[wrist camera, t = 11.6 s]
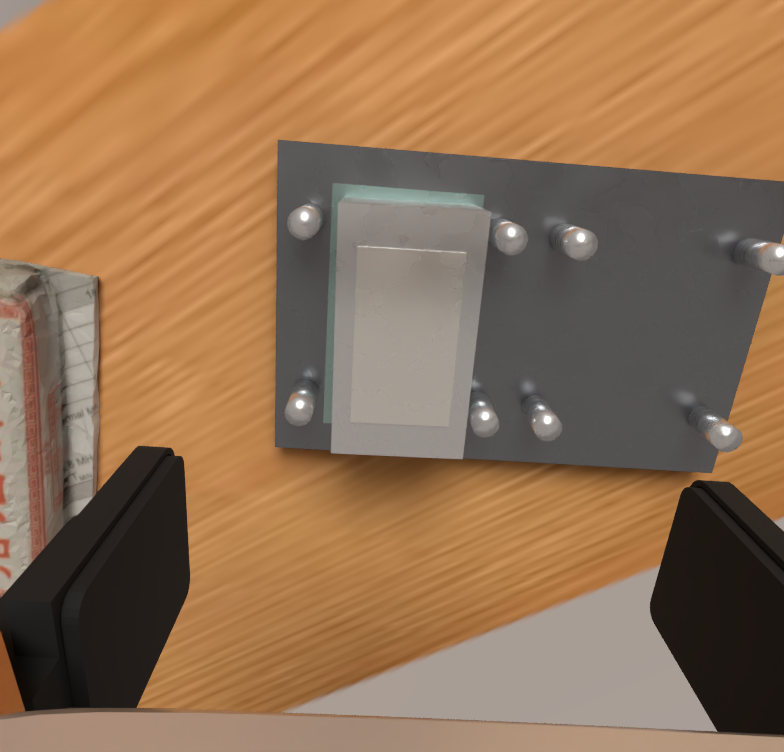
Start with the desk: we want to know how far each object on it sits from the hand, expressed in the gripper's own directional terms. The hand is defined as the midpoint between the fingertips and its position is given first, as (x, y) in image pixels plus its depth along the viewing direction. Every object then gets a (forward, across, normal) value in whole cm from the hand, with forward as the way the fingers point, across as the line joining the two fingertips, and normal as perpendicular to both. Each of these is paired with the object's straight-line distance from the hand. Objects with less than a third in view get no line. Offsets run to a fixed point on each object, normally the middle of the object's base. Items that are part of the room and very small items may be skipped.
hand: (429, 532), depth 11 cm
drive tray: (+18, -5, 0) cm, 19 cm away
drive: (+16, 0, 0) cm, 16 cm away
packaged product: (+19, +20, +8) cm, 28 cm away
